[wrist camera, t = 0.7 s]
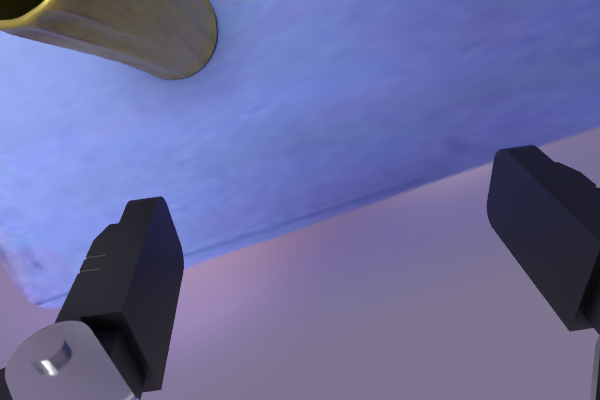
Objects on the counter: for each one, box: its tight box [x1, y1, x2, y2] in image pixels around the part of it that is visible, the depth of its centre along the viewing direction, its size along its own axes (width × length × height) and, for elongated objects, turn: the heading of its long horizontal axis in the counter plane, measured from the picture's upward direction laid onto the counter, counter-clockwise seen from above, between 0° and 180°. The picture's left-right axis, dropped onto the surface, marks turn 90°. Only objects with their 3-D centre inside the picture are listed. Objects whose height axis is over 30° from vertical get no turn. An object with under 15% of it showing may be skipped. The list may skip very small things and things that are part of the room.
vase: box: [0, 0, 217, 79], centre depth 21 cm, size 6×6×14 cm
